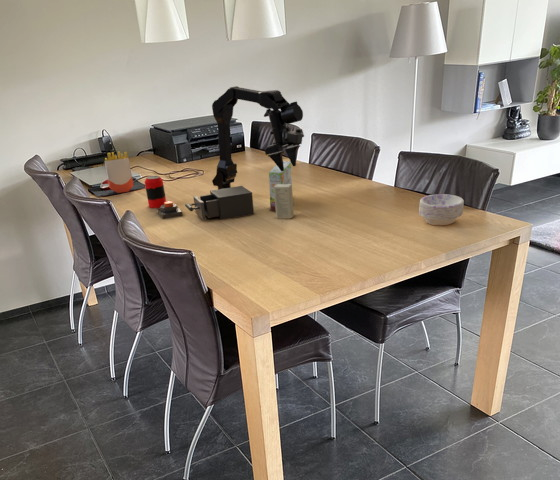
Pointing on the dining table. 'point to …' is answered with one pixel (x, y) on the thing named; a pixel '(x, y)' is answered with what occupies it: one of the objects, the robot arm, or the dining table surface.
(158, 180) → the soda can
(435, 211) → the grey stone bowl
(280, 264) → the dining table surface
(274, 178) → the snack box
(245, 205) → the dark grey hollow box
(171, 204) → the button
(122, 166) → the french fries container
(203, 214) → the drawer
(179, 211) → the panel
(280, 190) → the cosmetic box
